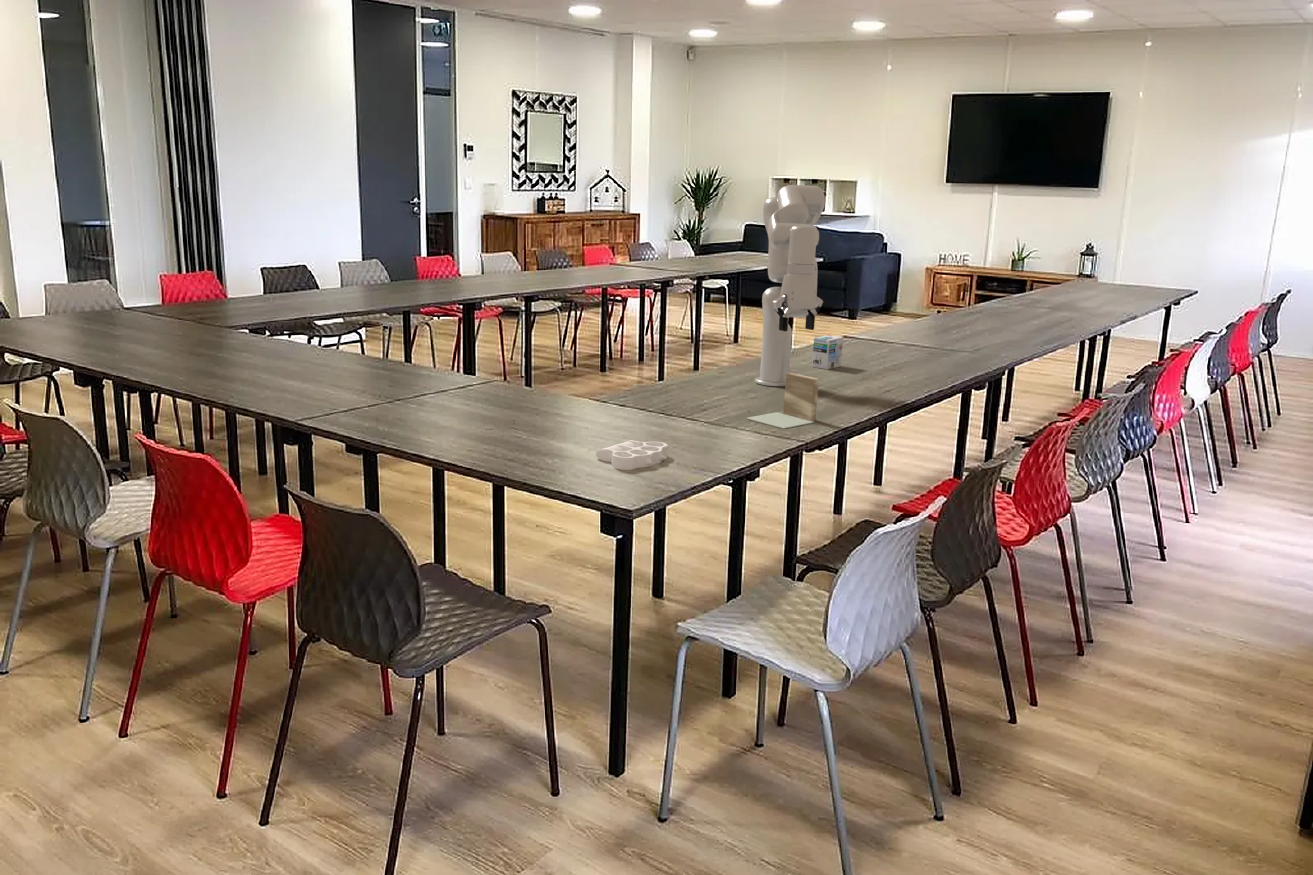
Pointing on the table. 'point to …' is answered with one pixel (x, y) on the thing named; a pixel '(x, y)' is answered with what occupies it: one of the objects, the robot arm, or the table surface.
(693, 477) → the table surface
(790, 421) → the mat
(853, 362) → the table surface
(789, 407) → the birch tile
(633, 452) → the white muffin tray
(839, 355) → the light bulb box
